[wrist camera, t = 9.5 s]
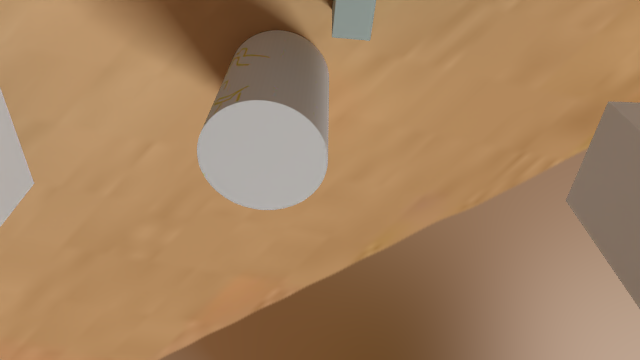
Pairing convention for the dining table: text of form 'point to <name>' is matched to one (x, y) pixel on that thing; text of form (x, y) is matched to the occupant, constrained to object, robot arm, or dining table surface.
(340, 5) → the token slate
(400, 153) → the dining table surface
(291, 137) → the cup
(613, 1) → the dining table surface
